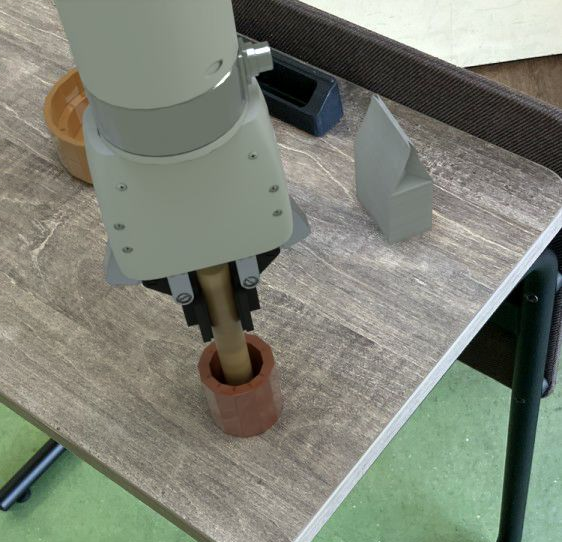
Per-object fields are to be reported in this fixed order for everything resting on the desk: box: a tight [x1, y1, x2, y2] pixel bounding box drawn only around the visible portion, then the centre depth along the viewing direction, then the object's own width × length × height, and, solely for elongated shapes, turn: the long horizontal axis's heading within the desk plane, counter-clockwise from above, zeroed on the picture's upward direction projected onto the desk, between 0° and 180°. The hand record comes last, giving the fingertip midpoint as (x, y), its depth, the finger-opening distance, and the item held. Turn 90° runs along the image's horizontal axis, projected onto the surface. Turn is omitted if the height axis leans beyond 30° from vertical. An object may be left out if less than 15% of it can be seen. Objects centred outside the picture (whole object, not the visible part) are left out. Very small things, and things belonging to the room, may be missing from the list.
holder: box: [197, 332, 284, 438], centre depth 68 cm, size 5×5×6 cm
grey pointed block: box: [353, 93, 435, 246], centre depth 75 cm, size 4×7×10 cm, turn 21°
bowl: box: [42, 66, 93, 185], centre depth 86 cm, size 12×12×5 cm
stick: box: [195, 262, 254, 386], centre depth 63 cm, size 2×2×16 cm
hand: (224, 318), depth 61 cm, fingers closed on stick, 2 cm apart
